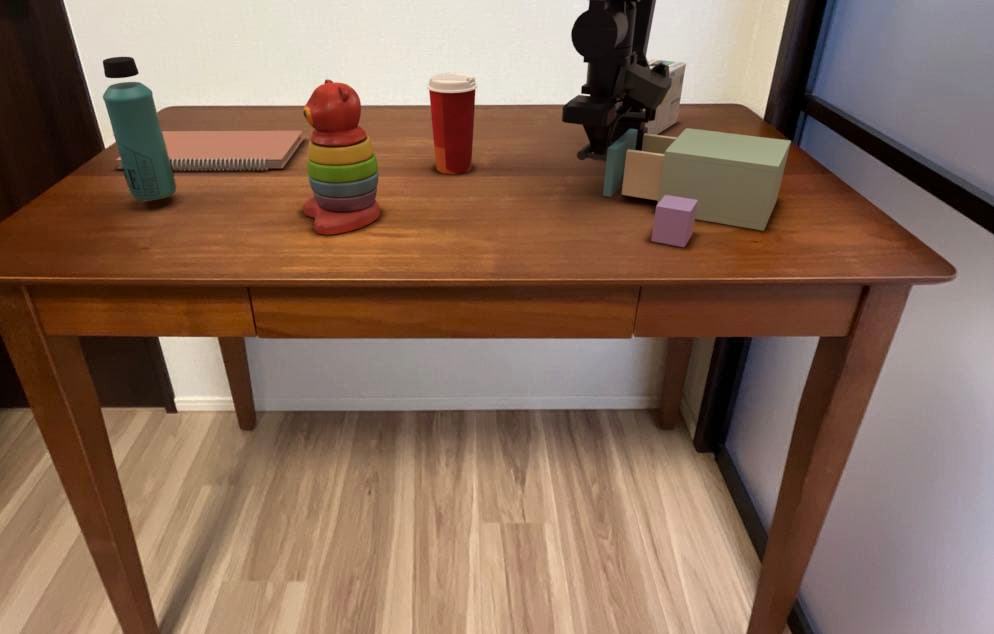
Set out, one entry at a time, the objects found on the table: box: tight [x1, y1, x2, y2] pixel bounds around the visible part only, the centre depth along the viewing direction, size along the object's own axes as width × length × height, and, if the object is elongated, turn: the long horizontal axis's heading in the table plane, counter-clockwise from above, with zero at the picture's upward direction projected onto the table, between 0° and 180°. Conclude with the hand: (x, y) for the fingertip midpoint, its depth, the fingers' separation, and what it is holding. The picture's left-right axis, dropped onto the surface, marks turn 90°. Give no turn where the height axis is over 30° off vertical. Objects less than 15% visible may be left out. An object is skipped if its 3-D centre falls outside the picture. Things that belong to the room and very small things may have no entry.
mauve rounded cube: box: [650, 195, 698, 248], centre depth 90 cm, size 4×4×5 cm
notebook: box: [114, 130, 305, 172], centre depth 122 cm, size 27×17×2 cm, turn 88°
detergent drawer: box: [576, 129, 678, 202], centre depth 102 cm, size 18×10×7 cm, turn 62°
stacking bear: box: [302, 78, 381, 235], centre depth 94 cm, size 11×10×18 cm
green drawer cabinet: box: [657, 127, 792, 232], centre depth 98 cm, size 14×12×9 cm
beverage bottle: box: [102, 56, 178, 202], centre depth 99 cm, size 6×7×20 cm
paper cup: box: [426, 72, 479, 175], centre depth 111 cm, size 8×8×14 cm
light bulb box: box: [643, 58, 687, 135], centre depth 130 cm, size 11×7×11 cm, turn 144°
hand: (600, 158), depth 105 cm, fingers closed, pressing on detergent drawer
